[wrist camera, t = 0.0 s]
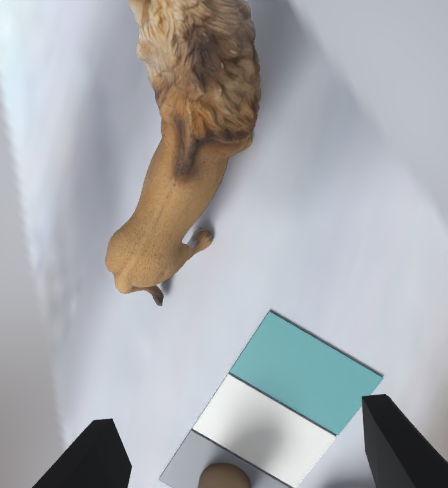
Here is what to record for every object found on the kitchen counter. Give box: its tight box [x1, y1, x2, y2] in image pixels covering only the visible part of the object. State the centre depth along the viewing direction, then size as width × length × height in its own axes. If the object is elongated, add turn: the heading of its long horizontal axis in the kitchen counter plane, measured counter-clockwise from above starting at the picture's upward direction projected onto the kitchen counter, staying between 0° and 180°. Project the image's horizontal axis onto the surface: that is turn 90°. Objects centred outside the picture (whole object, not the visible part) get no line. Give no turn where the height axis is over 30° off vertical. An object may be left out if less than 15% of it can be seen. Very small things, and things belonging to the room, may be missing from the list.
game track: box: [159, 311, 384, 488], centre depth 21 cm, size 15×8×1 cm, turn 150°
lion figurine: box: [105, 0, 261, 306], centre depth 14 cm, size 15×5×9 cm, turn 164°
